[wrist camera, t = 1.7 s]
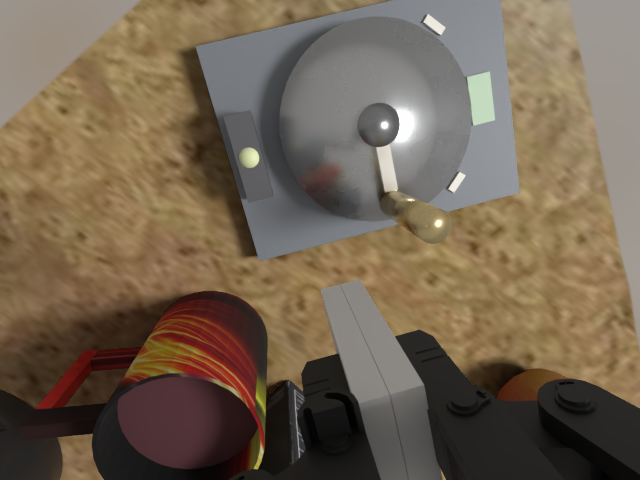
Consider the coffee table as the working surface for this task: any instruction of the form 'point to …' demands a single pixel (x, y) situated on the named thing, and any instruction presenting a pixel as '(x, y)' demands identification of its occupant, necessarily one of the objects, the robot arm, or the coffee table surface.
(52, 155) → the coffee table surface
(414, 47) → the crank wheel
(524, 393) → the apple
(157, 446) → the mug
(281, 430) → the small box
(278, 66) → the record turntable
